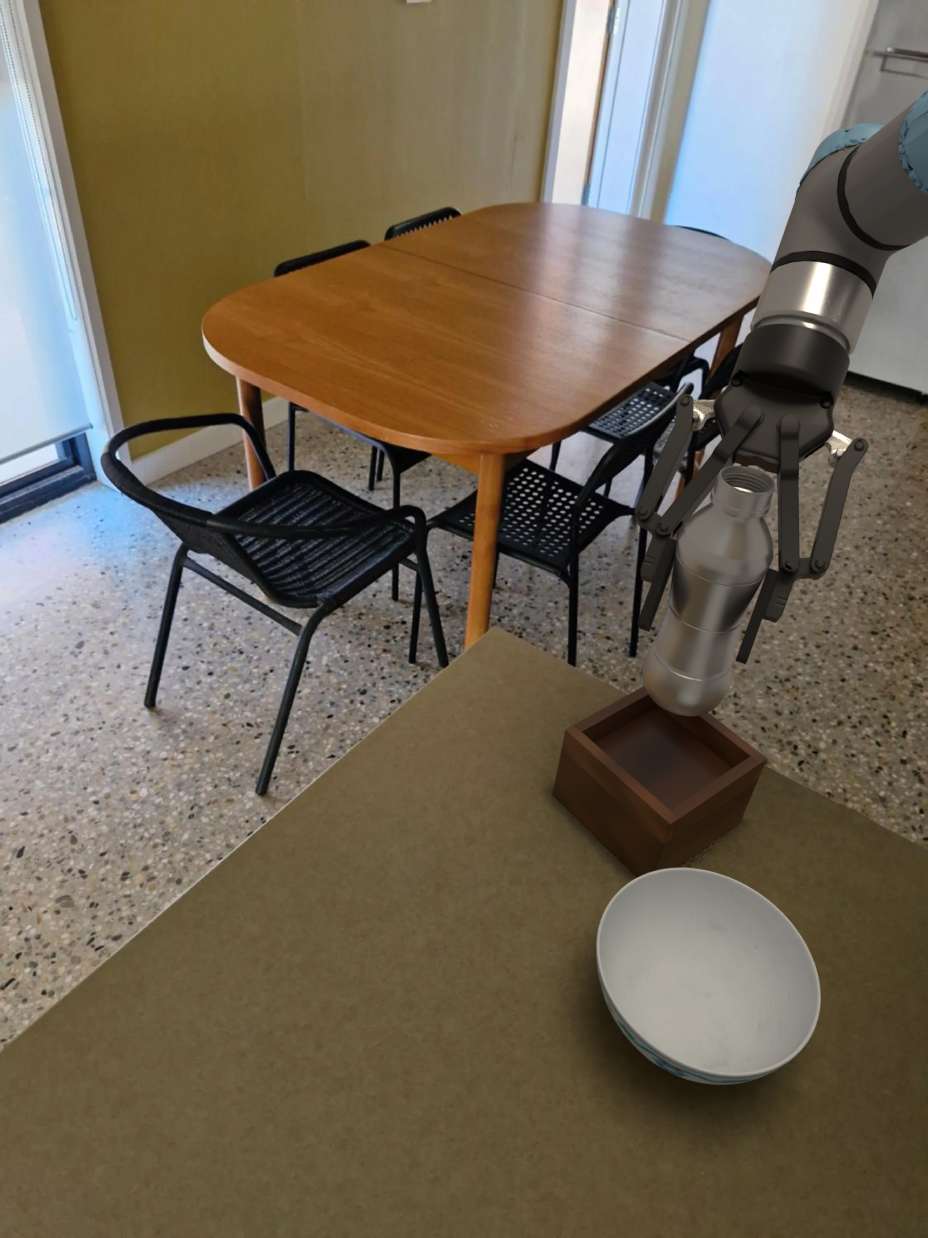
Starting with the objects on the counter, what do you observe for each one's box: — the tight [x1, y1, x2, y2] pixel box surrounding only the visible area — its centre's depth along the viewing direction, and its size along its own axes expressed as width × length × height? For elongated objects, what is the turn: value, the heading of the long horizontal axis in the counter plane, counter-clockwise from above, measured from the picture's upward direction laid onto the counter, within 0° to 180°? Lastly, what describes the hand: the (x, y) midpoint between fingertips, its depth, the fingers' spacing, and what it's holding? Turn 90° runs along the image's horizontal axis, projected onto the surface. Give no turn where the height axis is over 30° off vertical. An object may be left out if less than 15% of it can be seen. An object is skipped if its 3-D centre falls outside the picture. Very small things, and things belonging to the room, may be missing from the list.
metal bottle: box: [642, 465, 776, 716], centre depth 64 cm, size 6×7×20 cm
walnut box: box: [552, 685, 768, 878], centre depth 77 cm, size 12×12×8 cm
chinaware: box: [595, 867, 822, 1086], centre depth 63 cm, size 15×15×8 cm
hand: (691, 643), depth 63 cm, fingers closed on metal bottle, 6 cm apart
